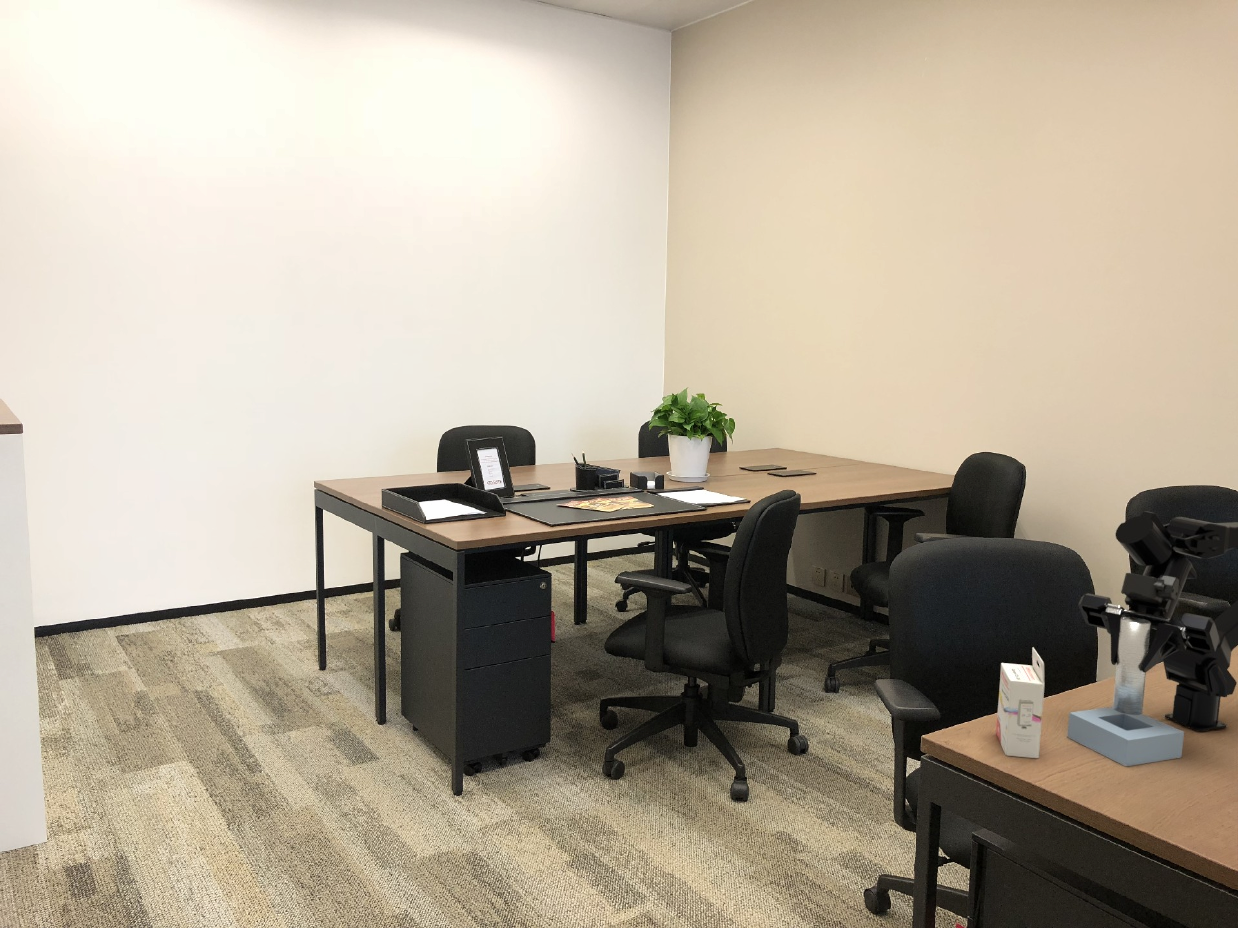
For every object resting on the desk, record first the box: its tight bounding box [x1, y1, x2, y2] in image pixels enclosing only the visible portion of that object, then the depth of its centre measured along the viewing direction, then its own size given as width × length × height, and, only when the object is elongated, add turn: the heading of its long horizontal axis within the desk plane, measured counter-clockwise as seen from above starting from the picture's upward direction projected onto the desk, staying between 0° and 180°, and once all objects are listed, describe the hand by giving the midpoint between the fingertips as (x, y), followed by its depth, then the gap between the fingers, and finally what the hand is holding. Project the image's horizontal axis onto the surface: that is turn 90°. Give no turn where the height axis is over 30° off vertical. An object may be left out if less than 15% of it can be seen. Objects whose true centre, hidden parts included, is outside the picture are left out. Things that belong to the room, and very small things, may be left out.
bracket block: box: [1066, 706, 1185, 767], centre depth 146 cm, size 11×11×4 cm
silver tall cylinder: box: [1112, 617, 1151, 715], centre depth 145 cm, size 4×4×14 cm
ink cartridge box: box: [995, 646, 1045, 759], centre depth 145 cm, size 9×5×15 cm, turn 168°
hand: (1127, 667), depth 144 cm, fingers closed on silver tall cylinder, 4 cm apart
